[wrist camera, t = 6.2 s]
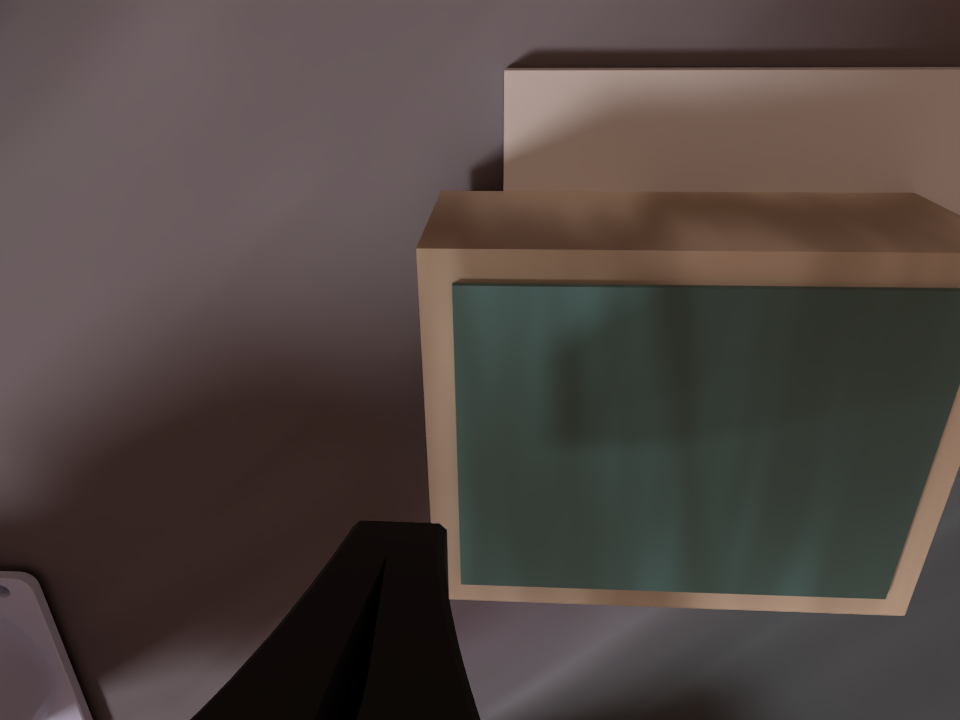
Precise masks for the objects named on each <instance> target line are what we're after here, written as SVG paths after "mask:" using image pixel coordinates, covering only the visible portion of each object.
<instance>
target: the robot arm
mask: <svg viewBox="0 0 960 720" xmlns="http://www.w3.org/2000/svg"><path fill="white" fill-rule="evenodd" d="M0 720H93V719H92V716H91V714H90V711H89V709H88V706H87V703H86V701H85V698H84V696H83V693H82V691H81V688H80V686H79V683H78V681H77V678H76V676H75V673H74V670H73V668H72V665H71V663H70V660H69V658H68V655H67V653H66V650H65V648H64V645H63V642H62V640H61V637H60V635H59V632H58V630H57V627H56V625H55V622H54V620H53V617H52V615H51V612H50V609H49V607H48V604H47V602H46V599H45V597H44V594H43V592H42V589H41V587H40V584H39V582H38V581H37V579H36V578H35V577H33V576H32V575H30V574H28V573H25V572H15V571H0ZM190 720H480V717H479V714H478V711H477V708H476V704H475V701H474V698H473V695H472V692H471V688H470V685H469V681H468V678H467V674H466V671H465V667H464V664H463V660H462V656H461V652H460V648H459V644H458V640H457V635H456V631H455V626H454V621H453V617H452V612H451V607H450V601H449V583H448V547H447V530H446V529H445V528H444V527H443V526H442V525H441V524H440V523H413V522H384V521H359V522H358V523H357V524H355V525H354V526H353V527H352V529H351V530H350V532H349V533H348V535H347V536H346V538H345V539H344V541H343V542H342V543H341V545H340V546H339V548H338V549H337V551H336V552H335V553H334V555H333V556H332V558H331V559H330V560H329V562H328V563H327V564H326V566H325V567H324V568H323V570H322V571H321V572H320V574H319V575H318V576H317V578H316V579H315V580H314V582H313V583H312V584H311V586H310V587H309V588H308V589H307V591H306V592H305V593H304V594H303V596H302V597H301V598H300V599H299V600H298V602H297V603H296V604H295V605H294V607H293V608H292V609H291V610H290V612H289V613H288V614H287V615H286V617H285V618H284V619H283V620H282V622H281V623H280V624H279V625H278V626H277V628H276V629H275V630H274V631H273V632H272V633H271V635H270V636H269V637H268V638H267V639H266V640H265V641H264V642H263V643H262V645H261V646H260V647H259V648H258V649H257V650H256V651H255V652H254V654H253V655H252V656H251V657H250V658H249V659H248V660H247V661H246V662H245V664H244V665H243V666H242V667H241V668H240V669H239V670H238V671H237V672H236V674H235V675H234V676H233V677H232V678H231V679H230V680H229V681H228V682H227V683H226V684H225V685H224V686H223V687H222V688H221V689H220V690H219V691H218V692H217V694H216V695H215V696H214V697H213V698H212V699H211V700H210V701H209V702H208V703H207V704H206V705H205V706H204V707H203V708H202V709H201V710H200V711H199V712H198V713H197V714H196V715H195V716H193V717H192V718H191V719H190Z"/></svg>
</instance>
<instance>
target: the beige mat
mask: <svg viewBox="0 0 960 720" xmlns="http://www.w3.org/2000/svg"><path fill="white" fill-rule="evenodd" d="M503 191H598V192H868V193H916V194H918V195H920V196H922V197H924V198H926V199H928V200H930V201H932V202H934V203H936V204H938V205H940V206H942V207H944V208H946V209H948V210H950V211H952V212H954V213H956V214H958V215H960V67H707V68H505V70H504V184H503Z"/></svg>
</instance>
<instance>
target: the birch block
mask: <svg viewBox="0 0 960 720" xmlns="http://www.w3.org/2000/svg"><path fill="white" fill-rule="evenodd" d="M416 256H417V274H418V293H419V311H420V330H421V349H422V367H423V386H424V404H425V423H426V442H427V460H428V479H429V497H430V516H431V523H440V524H441V525H442V526H443V527H444V528H445V529H446V530H447V547H448V583H449V599H456V600H483V601H511V602H538V603H566V604H593V605H621V606H648V607H676V608H703V609H731V610H758V611H786V612H813V613H841V614H868V615H895V616H905V613H906V610H907V608H908V605H909V602H910V599H911V597H912V594H913V591H914V588H915V586H916V583H917V580H918V578H919V575H920V572H921V569H922V567H923V564H924V561H925V559H926V556H927V553H928V550H929V548H930V545H931V542H932V539H933V537H934V534H935V531H936V529H937V526H938V523H939V520H940V518H941V515H942V512H943V509H944V507H945V504H946V501H947V499H948V496H949V493H950V490H951V488H952V485H953V482H954V479H955V477H956V474H957V471H958V469H959V466H960V215H958V214H956V213H954V212H952V211H950V210H948V209H946V208H944V207H942V206H940V205H938V204H936V203H934V202H932V201H930V200H928V199H926V198H924V197H922V196H920V195H918V194H916V193H868V192H598V191H441V193H440V195H439V198H438V200H437V202H436V204H435V207H434V209H433V211H432V214H431V216H430V218H429V220H428V223H427V225H426V227H425V229H424V232H423V234H422V236H421V239H420V241H419V243H418V245H417V248H416Z"/></svg>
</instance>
